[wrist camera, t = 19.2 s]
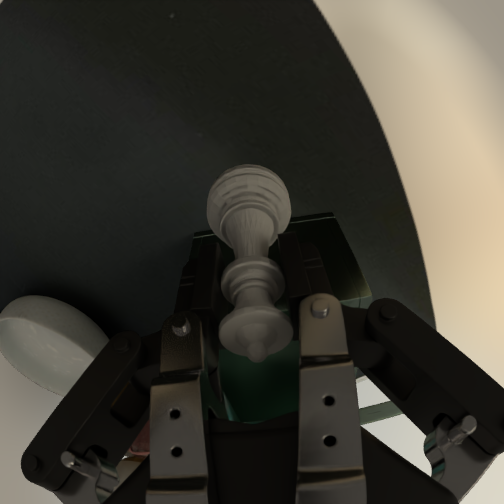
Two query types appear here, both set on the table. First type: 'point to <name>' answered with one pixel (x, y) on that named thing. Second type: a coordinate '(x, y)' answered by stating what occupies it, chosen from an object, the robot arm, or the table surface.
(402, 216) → the table surface
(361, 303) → the dark green box
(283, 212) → the chess piece
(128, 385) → the robot arm
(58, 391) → the cereal bowl
